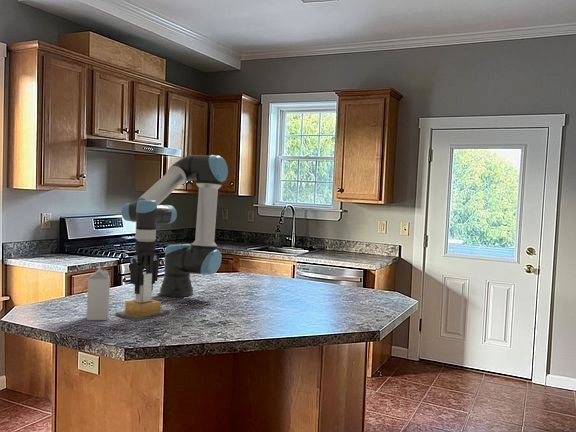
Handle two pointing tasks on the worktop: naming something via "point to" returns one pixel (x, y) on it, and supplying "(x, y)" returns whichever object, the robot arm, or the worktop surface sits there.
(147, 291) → the white tall block
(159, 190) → the robot arm
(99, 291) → the milk carton
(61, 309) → the worktop surface
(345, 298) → the worktop surface
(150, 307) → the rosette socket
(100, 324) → the worktop surface
